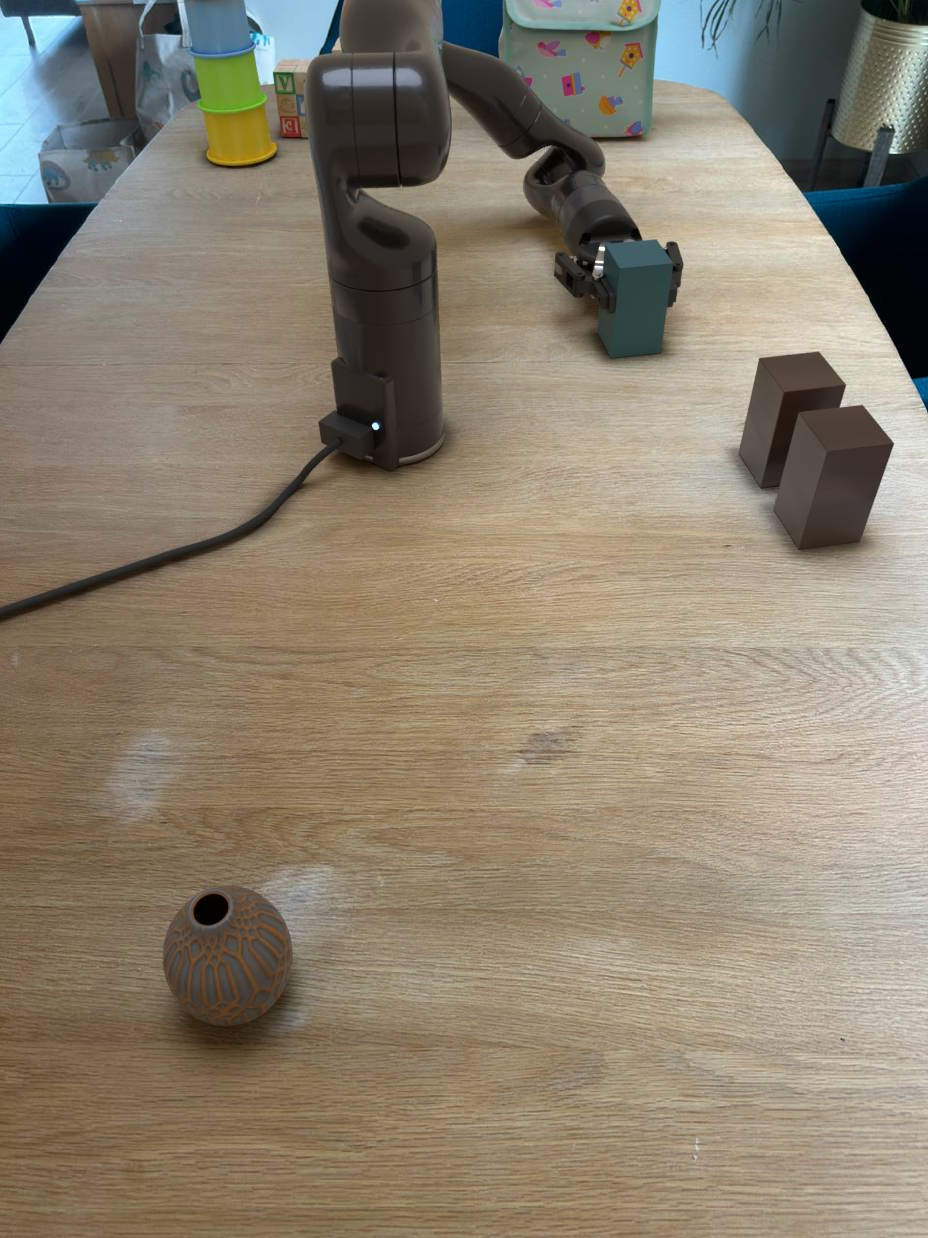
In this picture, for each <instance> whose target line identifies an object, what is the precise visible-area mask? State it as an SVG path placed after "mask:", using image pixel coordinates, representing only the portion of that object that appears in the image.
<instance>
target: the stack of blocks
mask: <svg viewBox="0 0 928 1238" xmlns="http://www.w3.org/2000/svg"><path fill="white" fill-rule="evenodd" d="M333 53H342V50H341V46H340V40H339V37H338V38H337V39H336V41H335V43H334V46H333V47H332V49H331V54H333ZM313 59H314V58H281V59H280V60H279V62H278V63H277V65H276V66H275V68H274V69H273V70H272V78H273V84H274V85H273V86H274V93H275V95H276V105H277V113H278V118H279V119H278V120H279V128H280V135H281V137H289V138H308V133H307V126H306V119H305V106H304V83H305V77H306V72H307V69H308V67H309V65H310V63H311V61H312V60H313Z"/></svg>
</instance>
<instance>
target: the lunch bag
mask: <svg viewBox="0 0 928 1238" xmlns="http://www.w3.org/2000/svg"><path fill="white" fill-rule="evenodd" d="M661 4H662V0H502V26H501V27H502V28H501V30H500V34H499V37H498V49H497V50H498V58H499V59H501V60H502V61H504V62H506V63H507V64H509V65H510V66H511V67H512V68H514V69H515V70H516V71H517V72H518V73H519V74H520V75H521V77H522V78H523V79H524V80H525V81H526V83H527V84H528V85H529V86H530V88H531V89H532V90H533V91H534V93H535V94H536V95H537V96H538V97H539V99H540V100H541V101H542V102H543V103H544V104H545V105H546V107H547V108H548V109H549V110H550V111H552V112H553V113H554V114H555V115H556V116H557V117H559V118H560V119H562V120H563V121H564V122H566V123H567V124H569V125H571V126H572V127H574V128H576V129H578V130H579V131H581V132H583V133H584V134H586V135H587V136H588V137H590V138H622V137H623V138H624V137H634V136H635V137H636V136H640V135H648V134H649V133H650V131H651V126H652V116H653V115H652V114H653V99H654V78H655V64H656V63H655V62H656V51H657V40H658V33H659V32H658V31H659V12H660V9H661Z"/></svg>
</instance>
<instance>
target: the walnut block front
mask: <svg viewBox="0 0 928 1238" xmlns="http://www.w3.org/2000/svg"><path fill="white" fill-rule="evenodd" d="M894 446H895V442H894V441H893V440H892V438H890V436H889V434H887V432H885V430H884V429H883V428H882V427H881V425H880V424H879V423H878V421H876V419H875V418H874V417H873V416H872V414H871V413H870V412H869V411H868V409H867V408H866V407H865V406H864V405H863V404H858V405H847V406H840V407H839V408H831V409H822V410H813V411H804V412H799V413H798V417H797V421H796V425H795V429H794V433H793V436H792V440H791V444H790V448H789V452H788V456H787V459H786V463H785V467H784V471H783V475H782V479H781V482H780V486H778V491H777V493H776V499H775V502H774V506H773V510H774V512H775V513H776V516H777V517H778V519H779V520H780V522H781V523H782V525H783V526H784V529H785V530H786V532H787V533H788V535H789V536H790V538H791V539H792V541H793V543H794V544H795V546H796V548H797V549H798V550H805V549H806V550H807V549H814V548H820V547H827V546H836V545H843V544H850V543H851V544H852V543H858V542H861V540H862V538H863V536H864V535H863V534H864V531H865V529H866V526H867V523H868V520H869V518H870V514H871V511H872V509H873V507H874V506H873V505H874V502H875V500H876V498H877V494H878V492H879V489H880V486H881V484H882V483H881V482H882V481H883V477H884V475H885V471H886V468H887V465H888V463H889V461H890V457H891V455H892V453H893V449H894Z"/></svg>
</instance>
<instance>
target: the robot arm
mask: <svg viewBox="0 0 928 1238" xmlns="http://www.w3.org/2000/svg"><path fill="white" fill-rule="evenodd" d="M442 2H443V1H442V0H343V2H342V3H343V4H342V9H341V13H340V19H339V20H340V21H339V28H338V29H339V30H338V32H339V33H338V38H339V40H340V46H341V50H342V53H333V54H332V53H323V54H319V55H317V56H315V57H314V58H312V59H313V60H312V61H311V63H310V65H309V67H308V69H307V72H306V77H305V83H304V106H305V119H306V126H307V133H308V137H307V139H308V140H307V141H308V145H309V151H310V156H311V162H312V167H313V172H314V178H315V184H316V190H317V195H318V201H319V202H318V203H319V208H320V216H321V224H322V232H323V233H322V234H323V240H324V242H323V243H324V251H325V258H326V259H325V260H326V268H327V275H328V284H329V293H330V300H331V311H332V319H333V326H334V327H333V328H334V336H335V344H336V353H337V357H335V358H333V359H332V360H331V362H330V368H331V369H330V370H331V376H332V377H331V378H332V385H333V392H334V394H333V395H334V401H335V408H336V409H333V410H332V411H331V412H329V413H328V414H327V415H325V416H324V417H323V418H321V419H319V420H318V430H319V437H320V442H321V444H323V445H326V446H325V447H324V448H322V449H321V450H320V451H319V452H318V453H317V454H315V455H314V456H313V457H312V458H311V459H310V460H309V461H308V462H307V463H306V464H305V466H304V467H303V468H302V469H301V471H300V472H299V473H298V474H297V476H296V477H295V478H293V480H292V481H291V482H290V483H289V484H288V486H287V487H285V489H284V490H283V491H282V492H281V493H280V494H279V496H277V498H276V499H274V501H273V502H271V503H270V505H268V506H267V507H266V508H265V509H264V510H262V511H261V512H260V513H258V514H257V515H255V516H254V517H252V518H251V519H249V520H248V521H246V522H244V523H243V524H240V525H239V526H237V527H234V528H233V529H231V530H229V531H227V532H224V533H222V534H219V535H217V536H213V537H210V538H207V539H204V540H200V541H198V542H197V541H196V542H194V543H191V544H187V545H184V546H180V547H176V548H173V549H170V550H167V551H164V552H161V553H158V554H155V555H151V556H149V557H146V558H143V559H140V560H138V561H134V562H131V563H129V564H125V565H122V566H119V567H116V568H113V569H109V570H107V571H104V572H101V573H98V574H95V575H92V576H89V577H86V578H84V579H80V580H76V581H74V582H70V583H68V584H66V585H63V586H59V587H57V588H53V589H50V590H48V591H45V592H41V593H39V594H35V595H33V596H29V597H27V598H24V599H21V600H18V601H15V602H13V603H9V604H6V605H3V606H1V607H0V619H1V618H4V617H6V616H10V615H12V614H14V613H19V612H21V611H23V610H26V609H29V608H32V607H35V606H37V605H41V604H44V603H46V602H49V601H52V600H56V599H59V598H61V597H65V596H68V595H70V594H73V593H75V592H78V591H82V590H84V589H88V588H91V587H94V586H96V585H97V586H98V585H100V584H102V583H105V582H109V581H112V580H114V579H117V578H121V577H123V576H127V575H130V574H133V573H136V572H138V571H142V570H145V569H147V568H150V567H154V566H156V565H159V564H162V563H164V562H167V561H171V560H174V559H177V558H180V557H181V558H182V557H183V556H187V555H191V554H194V553H198V552H202V551H204V550H208V549H211V548H214V547H218V546H219V545H222V544H225V543H228V542H230V541H232V540H234V539H236V538H238V537H241V536H242V535H244V534H246V533H248V532H249V531H251V530H253V529H254V528H256V527H257V526H259V525H260V524H262V523H263V522H265V521H266V520H267V519H268V518H270V517H271V516H272V515H273V514H274V513H276V512H277V511H278V510H279V509H280V507H281V506H282V505H283V504H284V503H285V502H286V501H287V500H288V499H289V498H290V496H292V495H293V493H294V492H296V491H297V489H298V488H299V487H300V486H302V484H303V483H304V482H305V481H306V480H307V478H308V477H309V475H310V474H311V473H312V471H313V470H314V469H316V467H317V466H318V465H319V464H320V463H322V462H323V461H324V460H325V459H326V458H328V456H330V455H331V454H332V453H333V452H334V451H336V450H337V451H339V452H341V453H343V454H346V455H349V456H351V457H353V458H355V459H357V460H360V461H362V460H364V461H366V462H368V463H372V464H374V465H377V466H379V467H380V468H383V469H385V470H387V471H394V470H395V469H397V467H400V466H403V465H408V464H413V463H417V462H419V461H422V460H424V459H426V458H428V457H431V456H432V455H433V454H435V453H436V452H437V451H438V450H439V449H440V448H441V446H442V445H443V443H444V441H445V435H446V434H445V433H446V432H445V431H446V430H445V424H444V411H443V383H442V382H443V379H442V356H441V355H442V354H441V353H442V352H441V328H440V327H441V325H440V302H439V301H440V299H439V298H440V297H439V296H440V294H439V292H440V291H439V270H438V269H439V266H438V246H437V237H436V235H435V233H434V231H433V229H432V228H431V226H430V225H429V224H428V223H427V222H426V221H425V220H423V219H421V218H419V216H416V215H414V214H412V213H409V212H406V211H404V210H400V209H397V208H395V207H392V206H389V205H387V204H386V203H383V202H382V201H379V200H378V199H376V198H375V197H373V196H371V195H370V194H369V193H368V192H366V190H364V189H395V188H397V189H399V188H416V187H421V186H424V185H425V186H426V185H428V184H431V183H433V182H435V181H436V180H437V179H439V177H440V176H441V175H442V174H443V172H444V170H445V168H446V166H447V163H448V160H449V156H450V152H451V146H452V137H453V136H452V135H453V133H452V132H453V125H452V124H453V122H452V121H453V120H452V119H453V118H452V117H453V115H452V108H451V100H450V98H452V99H453V100H454V101H455V102H456V103H457V104H458V105H459V106H461V108H462V109H463V110H465V111H466V113H467V114H469V116H470V117H471V118H472V119H473V120H474V121H475V123H477V124H478V126H479V127H480V128H481V129H482V131H484V132H485V134H486V135H487V136H488V137H489V138H490V139H491V140H492V141H493V142H494V144H495V145H496V146H497V147H498V148H499V149H500V150H501V152H503V154H505V155H506V156H507V157H509V159H511V160H515V161H516V160H517V161H519V160H523V159H525V158H528V157H530V156H532V155H533V154H535V153H537V152H538V151H540V150H541V149H544V148H547V147H549V148H548V149H547V150H546V151H545V152H544V153H543V154H542V155H541V156H540V157H539V158H538V159H537V160H536V161H534V163H533V164H532V165H530V167H529V168H528V169H527V171H526V172H525V173H524V176H523V180H522V192H523V194H524V196H525V199H526V201H527V202H528V204H529V205H530V206H531V208H533V209H534V210H535V211H536V212H537V213H539V214H540V215H542V216H543V217H545V218H546V219H548V220H550V221H552V222H554V223H556V224H557V226H558V228H559V229H560V231H561V232H560V233H561V236H562V238H563V242H564V244H565V245H566V246H567V249H568V250H569V252H570V254H571V255H568V253H566V252H565V251H557V252H555V253H554V268H553V276H554V278H556V280H557V281H558V282H559V283H560V284H561V285H562V286H563V288H564V289H566V290H567V292H568V293H570V295H572V297H574V298H577V299H580V298H583V297H584V296H585V295H590V298H591V299H594V301H595V302H596V304H597V306H598V308H601V309H602V310H603V309H605V310H606V312H607V314H610V313H615V306H616V293H615V291H614V290H613V288H612V286H611V284H610V283H609V281H608V279H607V278H604V271H603V261H604V250H605V244H612V243H622V242H633V241H643V237H642V233H641V232H640V229H639V227H638V224H636V222H635V221H634V219H633V218H632V217H631V215H630V214H629V212H628V211H627V209H626V208H625V206H624V205H623V204H622V202H621V200H620V199H619V198H618V197H617V196H616V195H615V194H613V193H612V191H611V190H610V188H609V187H608V186H607V184H606V182H605V181H604V179H603V178H604V175H605V173H606V167H607V166H606V165H607V163H606V157H605V154H604V151H603V150H602V148H601V147H600V145H599V144H598V143H597V142H596V141H595V140H594V139H593V138H592V137H588V136H587V135H586V134H584V133H583V132H581V131H579V130H578V129H576V128H574V127H572V126H571V125H569V124H567V123H566V122H564V121H563V120H562V119H560V118H559V117H557V116H556V115H555V114H554V113H553V112H552V111H550V110H549V109H548V108H547V107H546V105H545V104H544V103H543V102H542V101H541V100H540V99H539V97H538V96H537V95H536V94H535V93H534V91H533V90H532V89H531V88H530V86H529V85H528V84H527V83H526V81H525V80H524V79H523V78H522V77H521V75H520V74H519V73H518V72H517V71H516V70H515V69H514V68H512V67H511V66H510V65H509V64H507V63H506V62H504V61H502V60H501V59H499V57H497V56H495V55H492V54H489V53H485V52H482V51H479V50H476V49H471V48H469V47H468V48H467V47H464V46H460V45H457V44H454V43H451V42H448V41H446V40H444V16H443V15H444V14H443V10H442V4H443V3H442ZM662 248H663V249H664V251H665V252H666V254H667V255H668V256H669V258H670V259H671V261H672V262H673V268H672V275H671V283H670V290H669V297H668V305H667V309H668V308H673V306H674V303H676V302H677V297H678V290H679V288H681V285H682V275H683V270H684V260H683V257H682V254H681V251H680V247H679V245H678V242H676V241H674V240H673V241H672V240H671V241H670V240H669V241H667V242H666V244H665V246H664V247H662Z"/></svg>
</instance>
